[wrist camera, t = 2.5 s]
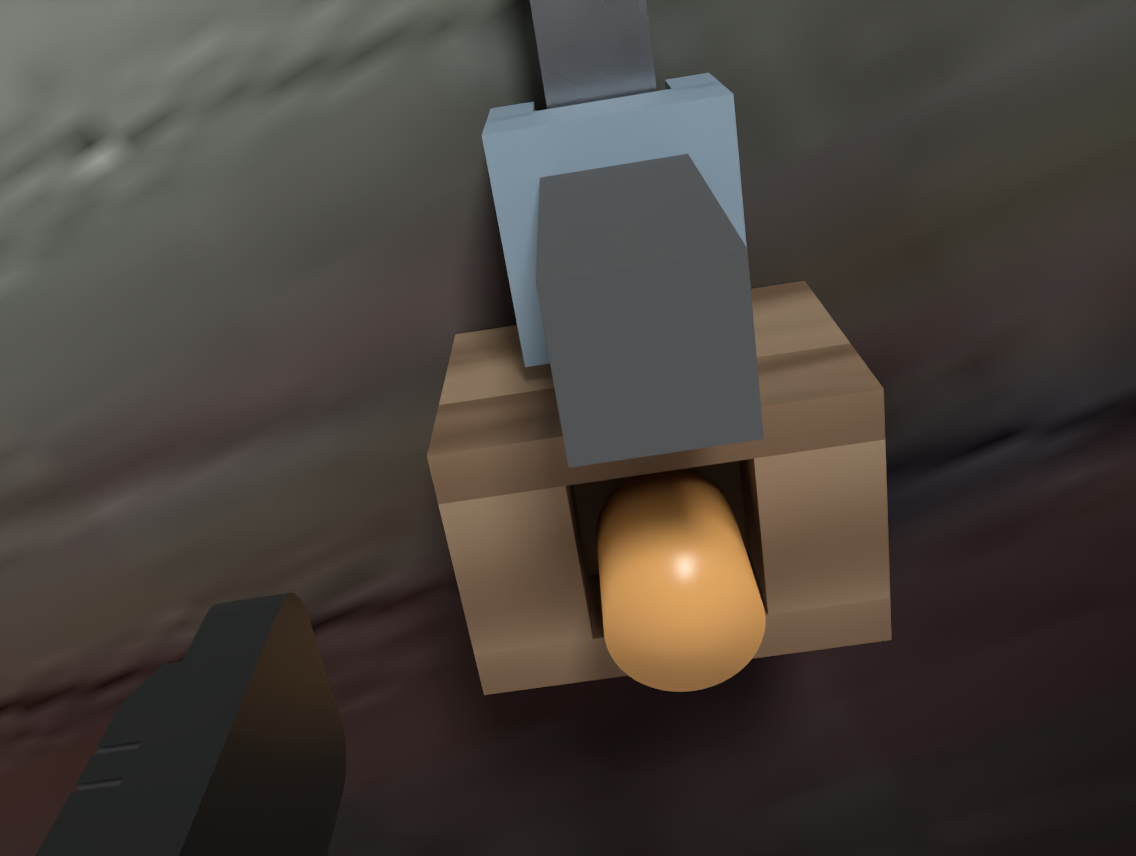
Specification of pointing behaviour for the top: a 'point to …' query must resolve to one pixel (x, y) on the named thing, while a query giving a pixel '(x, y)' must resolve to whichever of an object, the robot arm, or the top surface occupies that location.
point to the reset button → (676, 583)
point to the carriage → (631, 266)
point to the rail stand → (741, 470)
